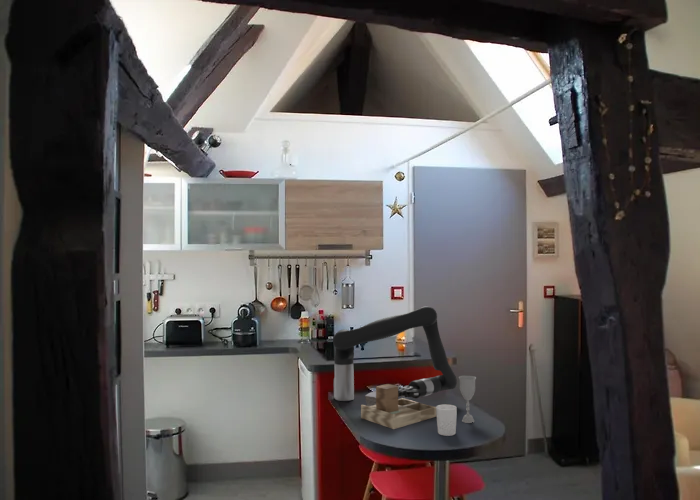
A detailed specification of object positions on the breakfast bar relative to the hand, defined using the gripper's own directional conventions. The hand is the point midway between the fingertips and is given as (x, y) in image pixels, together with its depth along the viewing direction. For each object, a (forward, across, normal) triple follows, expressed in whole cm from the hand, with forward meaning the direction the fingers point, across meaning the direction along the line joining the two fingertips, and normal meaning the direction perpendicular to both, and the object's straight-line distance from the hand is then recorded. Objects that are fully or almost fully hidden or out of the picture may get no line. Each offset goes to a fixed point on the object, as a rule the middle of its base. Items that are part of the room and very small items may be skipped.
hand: (393, 394), depth 224 cm
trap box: (-3, 0, +10) cm, 10 cm away
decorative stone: (-6, -17, +10) cm, 21 cm away
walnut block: (+4, 0, +6) cm, 7 cm away
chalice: (-20, +23, +10) cm, 33 cm away
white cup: (-2, +27, +10) cm, 29 cm away
